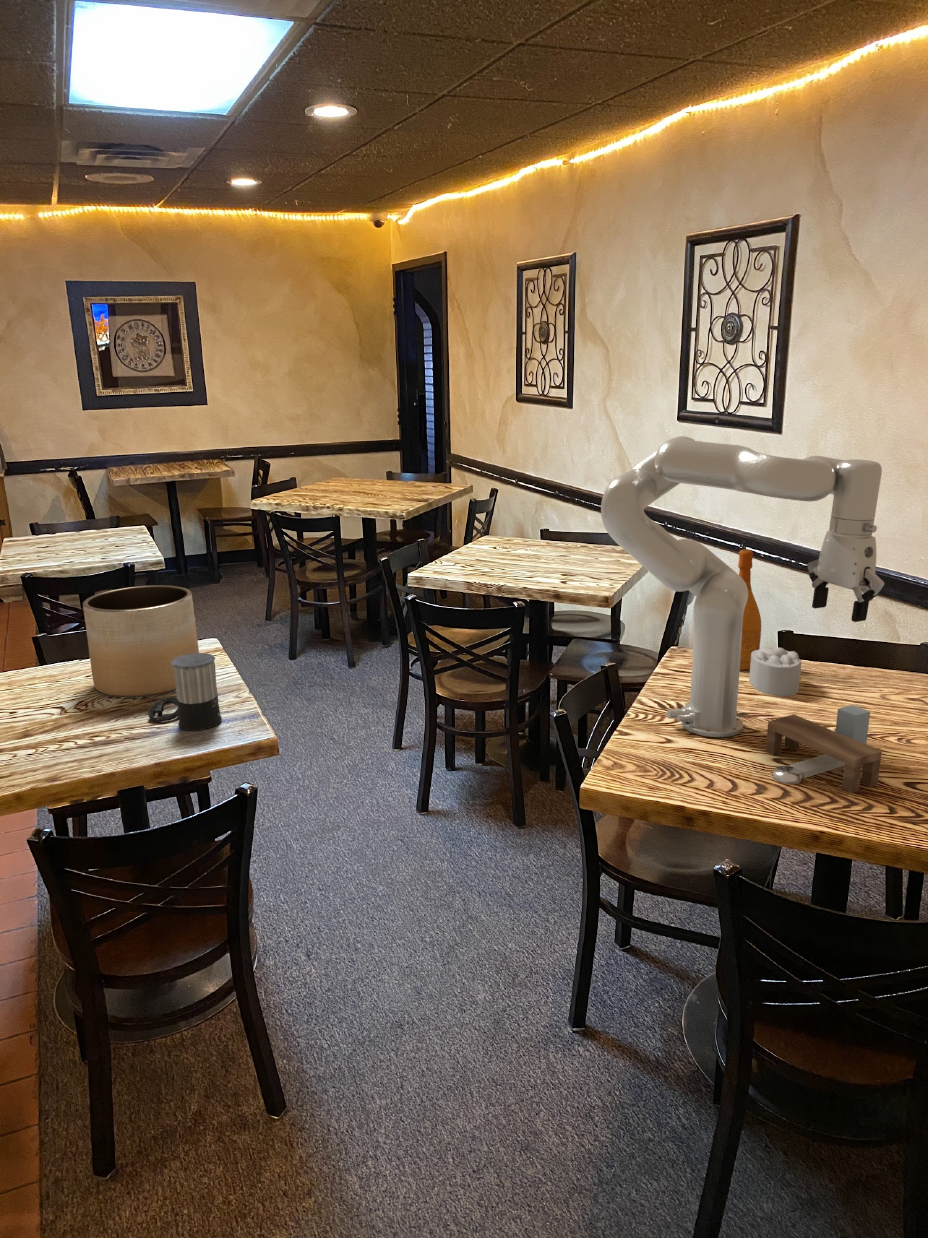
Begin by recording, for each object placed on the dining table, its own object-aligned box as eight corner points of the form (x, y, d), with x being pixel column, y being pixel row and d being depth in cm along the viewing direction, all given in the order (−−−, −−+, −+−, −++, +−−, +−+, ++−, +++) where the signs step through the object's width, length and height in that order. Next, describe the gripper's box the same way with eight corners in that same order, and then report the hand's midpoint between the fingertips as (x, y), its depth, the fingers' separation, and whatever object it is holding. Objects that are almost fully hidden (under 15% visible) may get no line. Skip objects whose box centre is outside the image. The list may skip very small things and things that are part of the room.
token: (794, 788, 156) (795, 780, 156) (768, 779, 159) (768, 772, 159) (805, 778, 159) (806, 771, 159) (779, 770, 163) (780, 763, 162)
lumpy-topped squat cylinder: (788, 677, 211) (791, 643, 208) (806, 696, 198) (810, 661, 196) (745, 677, 211) (747, 644, 209) (761, 697, 199) (763, 661, 196)
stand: (851, 793, 153) (854, 759, 151) (765, 751, 170) (768, 721, 168) (877, 784, 156) (882, 751, 154) (791, 744, 173) (794, 714, 171)
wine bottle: (750, 658, 224) (758, 545, 216) (764, 671, 215) (773, 553, 207) (712, 659, 224) (720, 546, 216) (725, 672, 215) (733, 554, 207)
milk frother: (221, 728, 186) (215, 663, 182) (144, 737, 183) (136, 671, 179) (222, 705, 200) (215, 644, 196) (150, 713, 196) (142, 651, 192)
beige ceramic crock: (101, 671, 224) (89, 589, 218) (202, 661, 231) (194, 581, 225) (87, 706, 201) (73, 615, 195) (200, 694, 207) (191, 605, 201)
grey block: (847, 752, 169) (852, 704, 166) (864, 760, 166) (870, 711, 163) (787, 770, 162) (792, 720, 159) (804, 778, 159) (809, 728, 156)
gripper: (904, 533, 156) (889, 624, 161) (830, 517, 171) (818, 601, 176) (874, 536, 153) (860, 628, 158) (801, 520, 168) (790, 604, 173)
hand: (838, 614), depth 167 cm, fingers open, 9 cm apart
